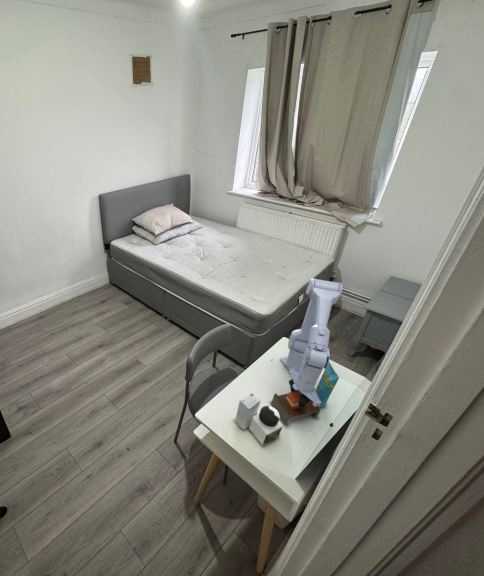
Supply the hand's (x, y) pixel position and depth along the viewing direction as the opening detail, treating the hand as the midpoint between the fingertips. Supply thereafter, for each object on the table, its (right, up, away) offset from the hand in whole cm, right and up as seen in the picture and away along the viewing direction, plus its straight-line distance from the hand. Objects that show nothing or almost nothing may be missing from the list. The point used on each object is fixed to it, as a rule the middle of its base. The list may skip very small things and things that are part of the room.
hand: (297, 400), depth 108 cm
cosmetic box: (-19, -8, +1) cm, 21 cm away
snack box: (0, -1, +1) cm, 1 cm away
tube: (+11, -3, +6) cm, 13 cm away
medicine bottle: (-14, -10, -3) cm, 17 cm away
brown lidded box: (0, -5, +3) cm, 6 cm away
